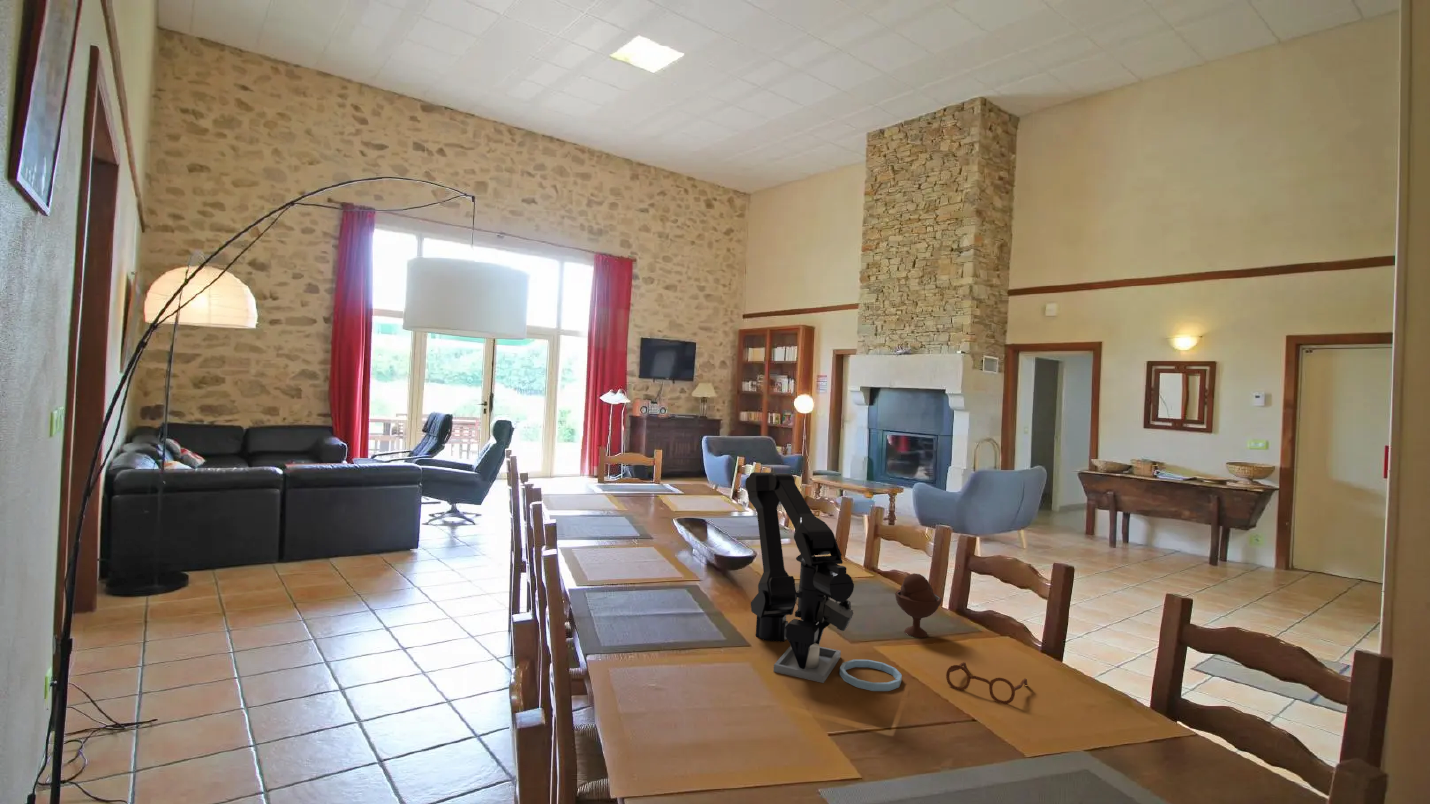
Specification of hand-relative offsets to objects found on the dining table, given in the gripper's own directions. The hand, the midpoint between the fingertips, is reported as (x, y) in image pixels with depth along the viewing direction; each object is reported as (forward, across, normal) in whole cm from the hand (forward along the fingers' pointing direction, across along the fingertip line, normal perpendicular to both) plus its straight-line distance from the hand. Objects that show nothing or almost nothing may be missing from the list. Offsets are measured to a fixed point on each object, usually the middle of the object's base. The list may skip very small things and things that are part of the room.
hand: (808, 660), depth 144 cm
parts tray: (+2, 0, 0) cm, 2 cm away
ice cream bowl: (+2, +35, -18) cm, 39 cm away
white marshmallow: (+1, 0, 0) cm, 1 cm away
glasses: (+2, +11, -35) cm, 37 cm away
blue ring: (+2, 0, -13) cm, 13 cm away
